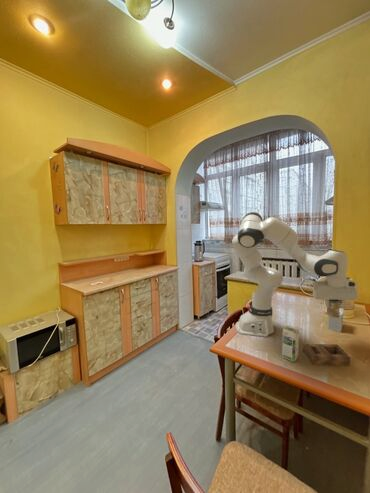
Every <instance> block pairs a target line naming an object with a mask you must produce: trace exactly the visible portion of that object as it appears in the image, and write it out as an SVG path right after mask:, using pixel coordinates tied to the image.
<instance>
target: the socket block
mask: <svg viewBox="0 0 370 493" xmlns="http://www.w3.org/2000/svg"><path fill="white" fill-rule="evenodd" d="M302 352H303V354H305V356H306V357H307V359H308V361H309V362H310V363H311V365H320V366H323V365H324V366H351V356H350V355H348V353H347V352H345V351H344V349H342V348H341V346H340V345H338V344H336V343H335V344H332V343H331V344H330V343H328V344H327V343H325V344H324V343H303V344H302Z"/></svg>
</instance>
